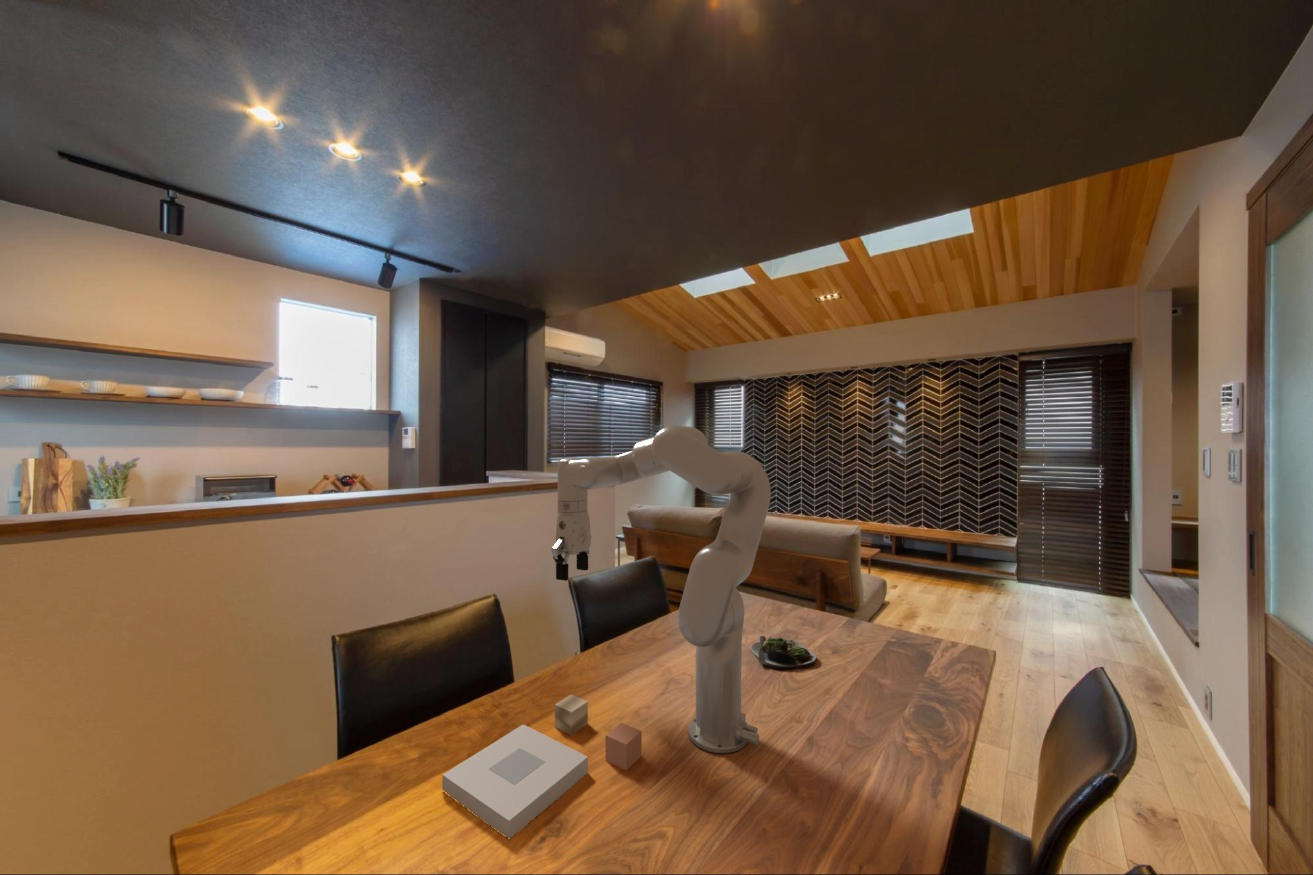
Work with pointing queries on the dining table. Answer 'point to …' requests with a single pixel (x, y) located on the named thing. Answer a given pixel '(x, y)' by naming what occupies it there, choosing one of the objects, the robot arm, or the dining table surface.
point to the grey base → (515, 778)
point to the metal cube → (571, 714)
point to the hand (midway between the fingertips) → (572, 574)
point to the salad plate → (783, 654)
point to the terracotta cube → (623, 746)
